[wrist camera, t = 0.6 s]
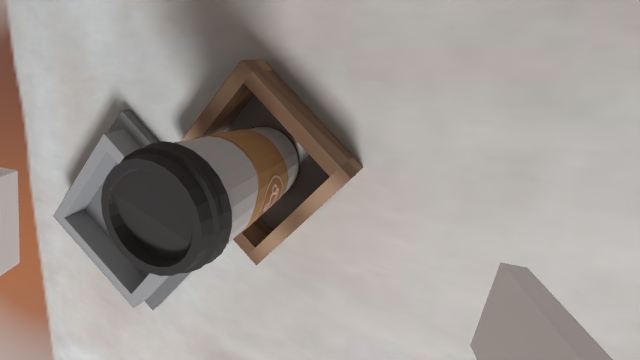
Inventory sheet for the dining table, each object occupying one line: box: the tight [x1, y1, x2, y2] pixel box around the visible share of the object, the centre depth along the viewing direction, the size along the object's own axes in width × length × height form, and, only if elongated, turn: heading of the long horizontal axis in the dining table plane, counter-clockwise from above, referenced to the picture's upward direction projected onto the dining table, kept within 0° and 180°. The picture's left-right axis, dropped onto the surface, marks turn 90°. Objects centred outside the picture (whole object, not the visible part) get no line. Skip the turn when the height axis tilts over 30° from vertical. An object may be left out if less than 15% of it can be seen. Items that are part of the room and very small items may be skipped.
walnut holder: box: [182, 60, 363, 265], centre depth 36 cm, size 12×12×4 cm
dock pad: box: [53, 110, 191, 310], centre depth 43 cm, size 16×16×4 cm
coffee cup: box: [101, 127, 299, 276], centre depth 31 cm, size 8×8×15 cm
